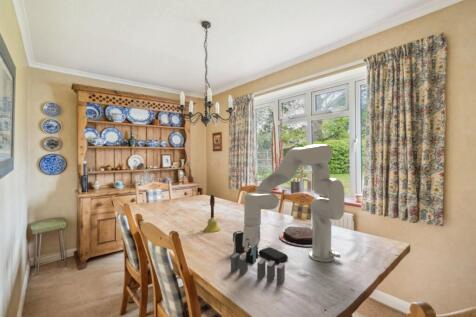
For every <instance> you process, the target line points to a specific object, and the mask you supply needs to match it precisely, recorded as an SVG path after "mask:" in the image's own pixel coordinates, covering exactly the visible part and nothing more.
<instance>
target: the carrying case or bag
mask: <svg viewBox="0 0 476 317" xmlns="http://www.w3.org/2000/svg"><path fill="white" fill-rule="evenodd" d="M258 255H259V256H261V257H262V258H263V259H266V260H268V261H269V262H270V261H275V265H277V264H278V265H279V264H280V263H284V262H285V261H287V260H288V259H289V257H288V255H287V254H286V253H284V252H282V251H280V250H278V249H276V248H273V247H269V246H268V247H265V248H262V249H260V250H258Z"/></svg>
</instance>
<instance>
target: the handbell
mask: <svg viewBox="0 0 476 317" xmlns="http://www.w3.org/2000/svg"><path fill="white" fill-rule="evenodd" d="M215 202H216V201H215V195H214V194H211V195H210V198H209V206H210V218H208V220H207V225H206V226H205V228H204V229H203V231H204V232H205V233H209V234H211V233H212V234H213V233H218V232H221V231H222V229H221V227H219V226H218V221H217V219H216V218H215V211H214V210H215V209H214V208H215V205H216V203H215Z"/></svg>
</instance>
